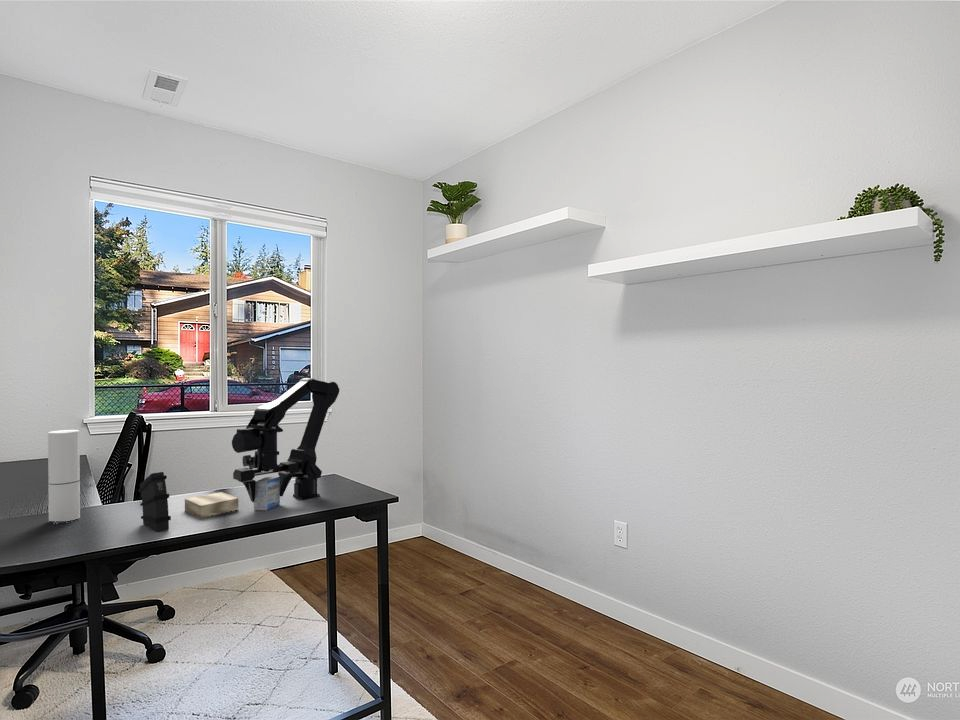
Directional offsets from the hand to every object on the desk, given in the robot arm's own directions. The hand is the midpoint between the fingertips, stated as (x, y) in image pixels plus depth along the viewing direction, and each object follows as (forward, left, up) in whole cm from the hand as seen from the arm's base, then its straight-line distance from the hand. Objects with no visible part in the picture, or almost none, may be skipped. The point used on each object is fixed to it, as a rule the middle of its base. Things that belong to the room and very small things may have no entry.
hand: (267, 499), depth 174 cm
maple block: (+13, -9, -3) cm, 16 cm away
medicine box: (0, 0, -3) cm, 3 cm away
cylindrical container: (+45, -30, -3) cm, 54 cm away
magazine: (+30, -5, -3) cm, 30 cm away
